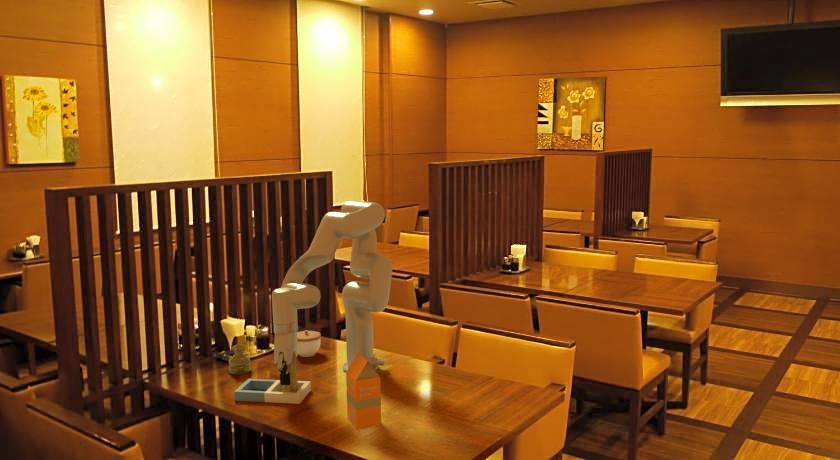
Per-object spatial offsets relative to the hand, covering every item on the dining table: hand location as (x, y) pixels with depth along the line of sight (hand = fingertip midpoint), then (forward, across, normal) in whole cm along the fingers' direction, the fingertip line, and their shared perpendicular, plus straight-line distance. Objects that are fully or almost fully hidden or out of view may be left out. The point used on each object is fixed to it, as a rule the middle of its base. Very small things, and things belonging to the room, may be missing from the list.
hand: (288, 380), depth 226 cm
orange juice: (+5, +16, +29) cm, 34 cm away
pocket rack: (+5, 0, -5) cm, 7 cm away
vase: (+5, 0, 0) cm, 5 cm away
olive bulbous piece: (+5, -20, -25) cm, 32 cm away
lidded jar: (+6, -40, -7) cm, 42 cm away
